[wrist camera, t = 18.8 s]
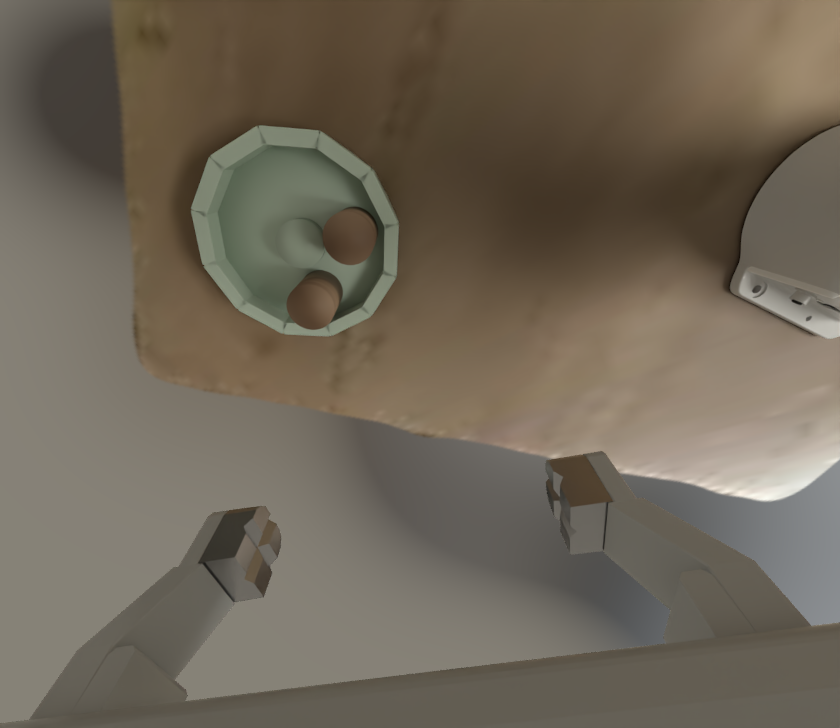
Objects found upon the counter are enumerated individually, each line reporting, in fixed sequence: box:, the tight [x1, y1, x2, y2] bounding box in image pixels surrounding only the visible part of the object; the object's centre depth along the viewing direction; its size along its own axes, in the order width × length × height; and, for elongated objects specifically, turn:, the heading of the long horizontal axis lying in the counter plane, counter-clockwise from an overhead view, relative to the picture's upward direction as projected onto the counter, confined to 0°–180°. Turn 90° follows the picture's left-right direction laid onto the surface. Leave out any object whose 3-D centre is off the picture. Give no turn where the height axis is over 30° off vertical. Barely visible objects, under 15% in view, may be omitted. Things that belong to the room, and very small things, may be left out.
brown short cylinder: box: [286, 270, 343, 330], centre depth 33 cm, size 4×4×5 cm
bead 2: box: [322, 207, 378, 265], centre depth 30 cm, size 4×4×5 cm
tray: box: [191, 125, 399, 336], centre depth 32 cm, size 17×17×3 cm
